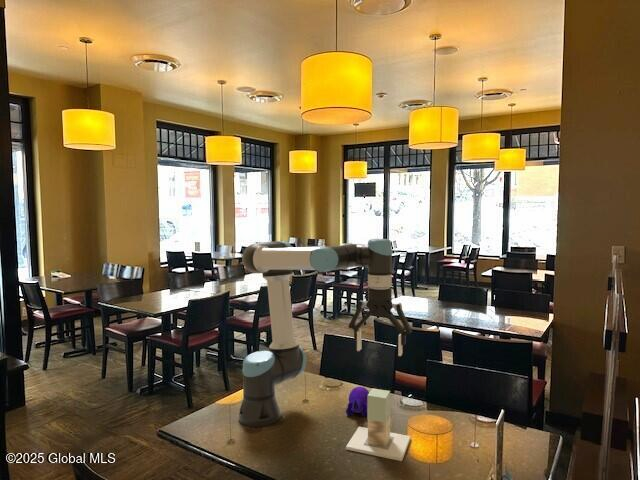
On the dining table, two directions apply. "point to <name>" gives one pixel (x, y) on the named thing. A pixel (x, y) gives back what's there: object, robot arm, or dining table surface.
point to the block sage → (378, 405)
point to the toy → (358, 401)
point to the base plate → (391, 451)
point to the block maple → (379, 432)
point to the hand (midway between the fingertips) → (379, 352)
